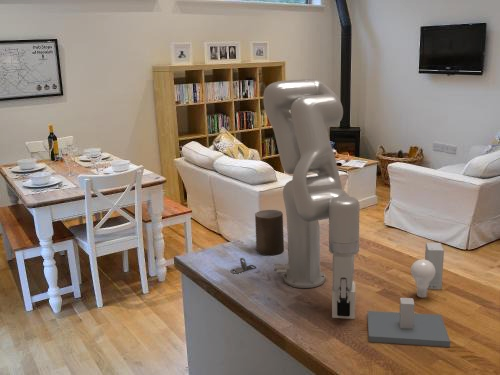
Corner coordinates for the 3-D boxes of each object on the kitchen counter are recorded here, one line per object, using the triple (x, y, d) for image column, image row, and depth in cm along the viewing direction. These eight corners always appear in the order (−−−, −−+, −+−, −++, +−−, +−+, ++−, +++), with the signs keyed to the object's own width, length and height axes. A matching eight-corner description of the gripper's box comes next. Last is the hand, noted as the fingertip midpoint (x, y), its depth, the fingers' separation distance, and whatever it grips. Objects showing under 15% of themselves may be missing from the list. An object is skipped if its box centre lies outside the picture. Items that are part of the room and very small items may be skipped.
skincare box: (442, 290, 140) (444, 250, 137) (426, 289, 141) (428, 250, 138) (438, 280, 146) (440, 242, 143) (423, 280, 147) (425, 242, 144)
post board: (368, 341, 117) (369, 311, 115) (367, 316, 128) (367, 287, 126) (449, 347, 113) (451, 315, 111) (440, 320, 125) (442, 291, 123)
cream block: (332, 317, 128) (332, 290, 126) (332, 306, 134) (332, 280, 132) (355, 319, 127) (355, 292, 125) (354, 307, 132) (355, 281, 131)
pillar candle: (284, 255, 169) (283, 213, 166) (256, 256, 170) (254, 214, 166) (283, 245, 179) (282, 205, 175) (256, 246, 179) (254, 206, 175)
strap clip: (234, 276, 156) (233, 263, 155) (229, 272, 158) (229, 260, 157) (257, 269, 160) (256, 256, 159) (252, 265, 163) (251, 253, 162)
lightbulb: (431, 304, 132) (433, 266, 129) (407, 299, 136) (408, 262, 133) (436, 294, 137) (438, 257, 135) (413, 290, 141) (414, 254, 138)
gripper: (330, 232, 134) (330, 293, 139) (327, 258, 118) (327, 325, 123) (358, 233, 133) (357, 294, 137) (359, 259, 116) (358, 327, 121)
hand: (343, 308), depth 130 cm, fingers closed on cream block, 5 cm apart
